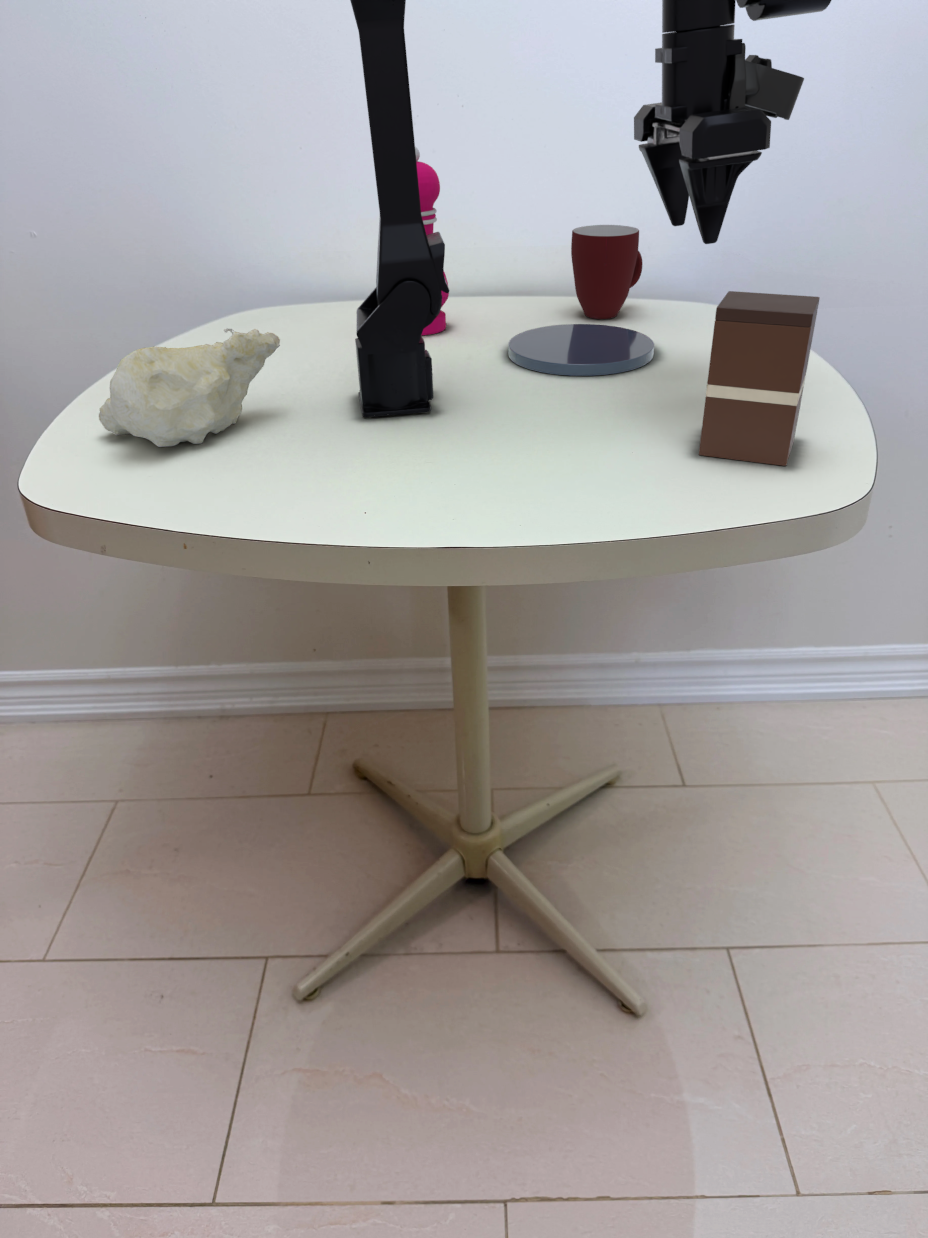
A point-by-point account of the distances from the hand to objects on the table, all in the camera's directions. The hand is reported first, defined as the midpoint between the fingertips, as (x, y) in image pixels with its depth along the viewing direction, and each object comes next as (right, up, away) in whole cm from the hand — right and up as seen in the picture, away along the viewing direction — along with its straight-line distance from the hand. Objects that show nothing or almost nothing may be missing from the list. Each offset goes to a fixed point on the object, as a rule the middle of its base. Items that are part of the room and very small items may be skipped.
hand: (693, 233), depth 81 cm
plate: (-8, -5, +19) cm, 21 cm away
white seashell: (-45, -17, +2) cm, 48 cm away
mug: (-3, +4, +33) cm, 33 cm away
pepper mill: (-26, +1, +29) cm, 39 cm away
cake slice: (+3, -21, -6) cm, 22 cm away
